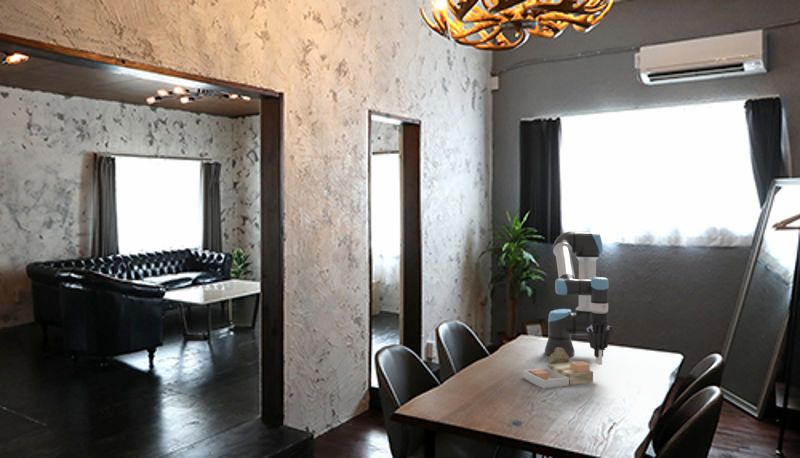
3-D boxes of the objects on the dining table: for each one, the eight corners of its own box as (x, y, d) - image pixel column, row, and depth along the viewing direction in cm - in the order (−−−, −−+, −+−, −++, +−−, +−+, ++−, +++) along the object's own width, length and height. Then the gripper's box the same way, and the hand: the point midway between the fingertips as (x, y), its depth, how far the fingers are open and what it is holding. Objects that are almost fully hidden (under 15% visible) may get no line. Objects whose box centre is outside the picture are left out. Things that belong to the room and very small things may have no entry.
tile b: (570, 368, 258) (570, 362, 258) (581, 367, 260) (581, 361, 260) (578, 372, 252) (578, 365, 252) (589, 371, 254) (589, 364, 254)
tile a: (541, 369, 263) (541, 375, 263) (529, 370, 261) (529, 376, 261) (548, 372, 257) (548, 379, 257) (536, 374, 255) (536, 380, 255)
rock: (576, 356, 276) (558, 342, 280) (567, 364, 266) (549, 350, 270) (564, 372, 280) (547, 359, 285) (555, 381, 270) (538, 367, 274)
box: (523, 378, 261) (523, 370, 261) (548, 375, 265) (548, 367, 265) (543, 388, 246) (543, 380, 246) (568, 385, 250) (569, 377, 250)
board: (548, 375, 265) (549, 364, 265) (571, 372, 269) (571, 362, 269) (569, 385, 250) (570, 374, 250) (592, 382, 254) (593, 371, 254)
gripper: (592, 314, 253) (591, 367, 254) (616, 312, 257) (616, 364, 258) (581, 311, 260) (581, 363, 261) (605, 309, 264) (605, 360, 265)
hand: (598, 363), depth 259 cm, fingers closed
